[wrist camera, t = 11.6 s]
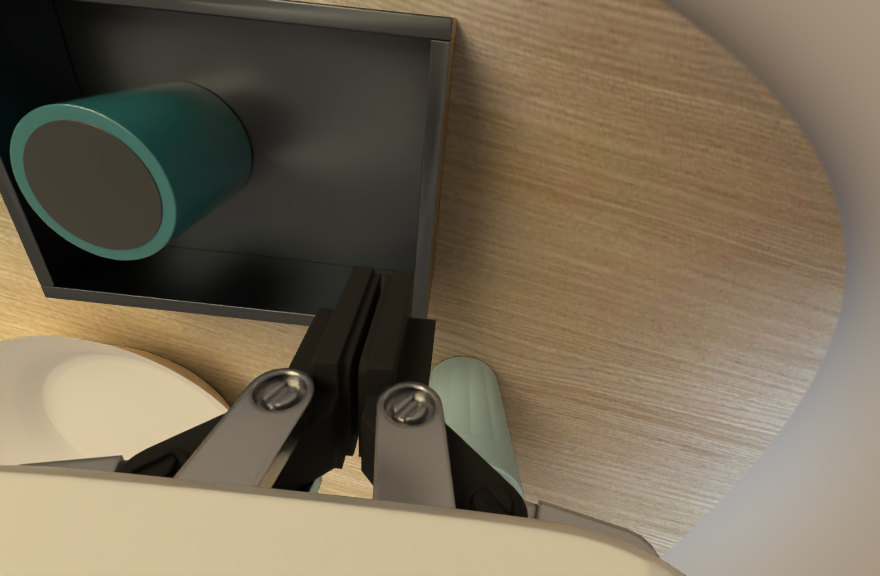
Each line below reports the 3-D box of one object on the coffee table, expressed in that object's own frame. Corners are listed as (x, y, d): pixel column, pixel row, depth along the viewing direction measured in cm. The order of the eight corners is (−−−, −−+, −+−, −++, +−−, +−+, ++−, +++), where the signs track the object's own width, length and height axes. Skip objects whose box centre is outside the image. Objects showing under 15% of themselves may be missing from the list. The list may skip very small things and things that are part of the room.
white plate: (325, 397, 38) (312, 431, 34) (233, 533, 49) (217, 567, 46) (7, 250, 32) (-42, 275, 29) (-12, 444, 43) (-49, 476, 40)
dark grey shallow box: (42, -26, 23) (-103, -42, 17) (457, 18, 23) (453, 17, 17) (124, 245, 31) (45, 297, 25) (432, 279, 31) (423, 338, 25)
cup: (395, 382, 36) (371, 500, 27) (459, 327, 33) (456, 440, 24) (463, 428, 38) (462, 551, 30) (529, 381, 35) (550, 502, 26)
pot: (148, 196, 28) (43, 253, 21) (117, 74, 24) (-22, 94, 18) (258, 208, 28) (189, 269, 21) (243, 87, 24) (154, 113, 18)
